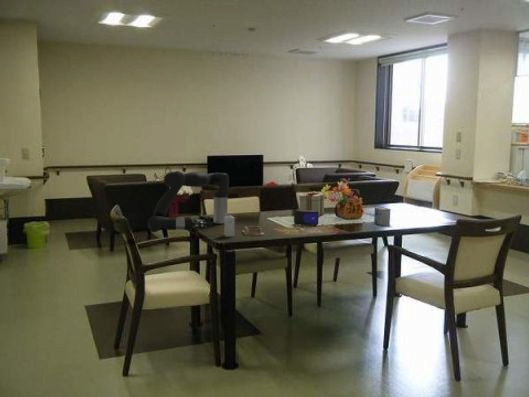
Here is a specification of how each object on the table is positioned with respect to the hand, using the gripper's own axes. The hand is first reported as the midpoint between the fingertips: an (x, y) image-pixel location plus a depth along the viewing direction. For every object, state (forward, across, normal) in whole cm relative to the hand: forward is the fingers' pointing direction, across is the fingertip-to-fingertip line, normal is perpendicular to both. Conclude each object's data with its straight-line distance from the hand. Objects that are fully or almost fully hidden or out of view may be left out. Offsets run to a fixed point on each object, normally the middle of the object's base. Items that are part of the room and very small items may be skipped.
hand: (211, 223), depth 308 cm
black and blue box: (+66, +29, +7) cm, 73 cm away
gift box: (+81, +68, +7) cm, 106 cm away
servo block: (+10, 0, +8) cm, 13 cm away
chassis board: (+25, +4, +7) cm, 27 cm away
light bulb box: (+118, +24, +7) cm, 121 cm away
